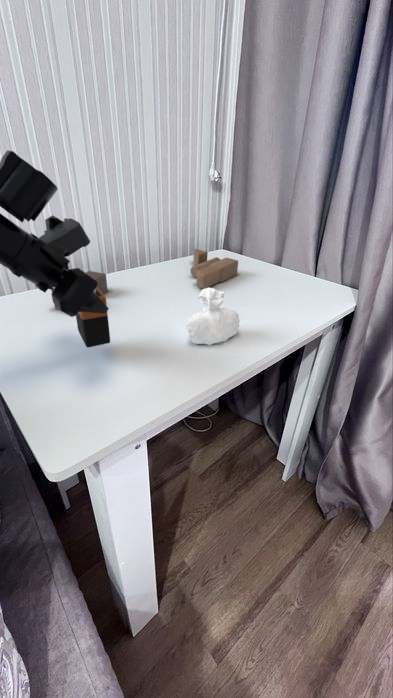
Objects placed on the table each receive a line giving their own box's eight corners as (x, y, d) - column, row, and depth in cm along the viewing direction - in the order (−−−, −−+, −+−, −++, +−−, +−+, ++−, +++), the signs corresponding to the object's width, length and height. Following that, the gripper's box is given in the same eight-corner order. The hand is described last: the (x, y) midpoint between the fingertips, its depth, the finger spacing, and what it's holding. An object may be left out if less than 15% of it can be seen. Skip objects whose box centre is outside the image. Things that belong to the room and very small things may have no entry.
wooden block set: (241, 256, 99) (205, 271, 87) (238, 274, 102) (204, 291, 90) (196, 244, 107) (158, 257, 95) (195, 261, 110) (158, 276, 98)
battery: (86, 349, 57) (78, 295, 52) (77, 331, 62) (69, 281, 57) (111, 343, 59) (106, 291, 54) (101, 327, 64) (95, 277, 59)
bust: (233, 339, 73) (221, 290, 74) (251, 334, 66) (238, 280, 67) (184, 351, 69) (171, 298, 69) (198, 346, 62) (184, 288, 62)
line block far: (96, 299, 83) (94, 280, 80) (79, 295, 84) (76, 276, 82) (107, 292, 87) (105, 273, 84) (91, 288, 88) (89, 270, 86)
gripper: (72, 213, 40) (153, 282, 52) (28, 192, 52) (101, 252, 64) (18, 287, 40) (111, 340, 52) (-14, 249, 52) (67, 298, 64)
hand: (97, 302), depth 58 cm, fingers closed on battery, 7 cm apart
